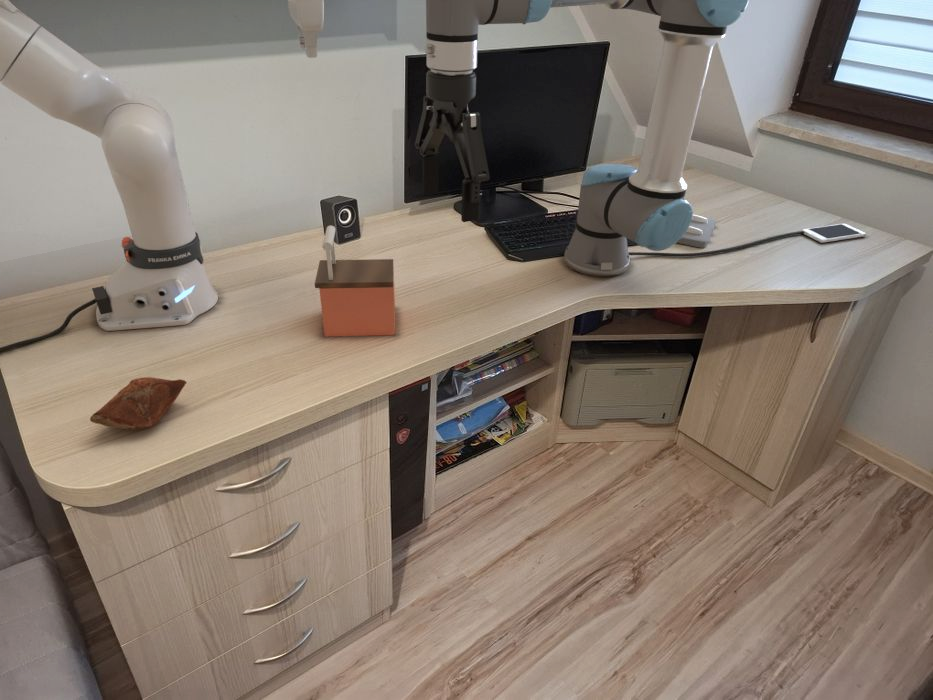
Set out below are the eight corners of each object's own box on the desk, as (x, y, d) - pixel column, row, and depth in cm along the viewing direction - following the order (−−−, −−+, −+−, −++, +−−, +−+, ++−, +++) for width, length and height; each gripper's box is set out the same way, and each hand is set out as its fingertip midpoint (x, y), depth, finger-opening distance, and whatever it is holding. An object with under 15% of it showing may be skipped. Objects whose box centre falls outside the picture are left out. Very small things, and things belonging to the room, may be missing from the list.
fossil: (192, 375, 104) (155, 351, 95) (202, 420, 100) (164, 400, 91) (121, 406, 104) (76, 386, 95) (128, 452, 100) (83, 436, 91)
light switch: (708, 237, 159) (646, 224, 164) (705, 248, 160) (644, 236, 166) (717, 213, 172) (660, 202, 178) (714, 224, 174) (658, 213, 179)
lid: (315, 288, 116) (310, 244, 111) (320, 265, 123) (315, 223, 119) (393, 287, 117) (391, 243, 112) (393, 264, 125) (391, 222, 120)
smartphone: (800, 232, 171) (801, 229, 171) (843, 226, 176) (844, 222, 176) (821, 243, 166) (822, 239, 165) (865, 236, 171) (866, 232, 170)
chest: (324, 336, 121) (319, 288, 116) (328, 311, 129) (324, 265, 124) (395, 334, 123) (393, 287, 117) (395, 309, 131) (393, 264, 125)
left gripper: (275, -42, 114) (284, 43, 121) (286, -35, 98) (296, 62, 105) (311, -41, 115) (318, 43, 123) (327, -34, 99) (334, 62, 107)
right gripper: (393, 57, 102) (397, 186, 114) (472, 88, 85) (467, 237, 97) (434, 55, 106) (434, 180, 117) (519, 84, 88) (508, 228, 100)
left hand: (308, 52), depth 114 cm, fingers open, 8 cm apart
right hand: (449, 206), depth 107 cm, fingers open, 13 cm apart
